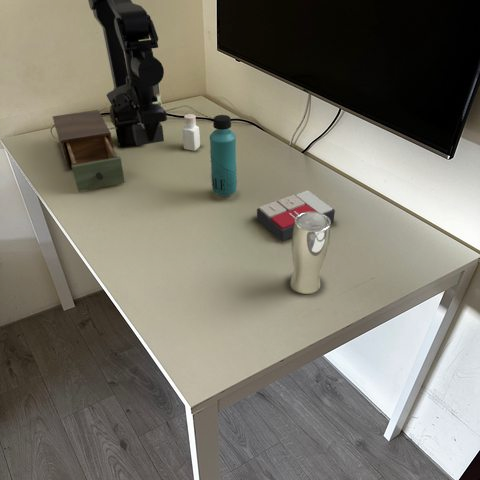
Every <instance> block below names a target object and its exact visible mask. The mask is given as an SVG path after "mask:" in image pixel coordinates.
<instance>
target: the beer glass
mask: <svg viewBox="0 0 480 480" xmlns="http://www.w3.org/2000/svg"><path fill="white" fill-rule="evenodd" d="M331 225H332V224H331V221H330V219H329V218H328V217H327V216H326V215H324V214H322V213H319V212H304V213H301V214H299V215H297V216H296V218H295V222H294V227H293V233H292V238H291V255H292V264H293V265H292V266H293V269H292V270H293V271H292V274H291V278H290V282H289V285H290V288H291V289H292V290H293V291H295V292H297V293H299V294H302V295H309V294H314V293H317V291H319V289H320V287H321V270H322V266H323V264H324V262H325V259H326V256H327V253H328V249H329V245H330V238H331Z"/></svg>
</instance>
